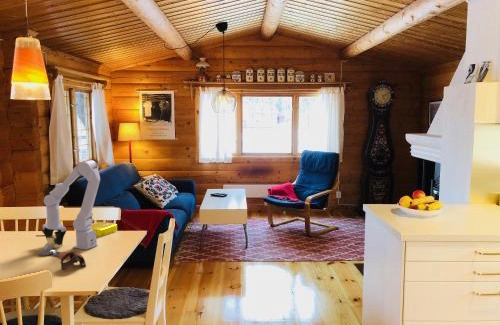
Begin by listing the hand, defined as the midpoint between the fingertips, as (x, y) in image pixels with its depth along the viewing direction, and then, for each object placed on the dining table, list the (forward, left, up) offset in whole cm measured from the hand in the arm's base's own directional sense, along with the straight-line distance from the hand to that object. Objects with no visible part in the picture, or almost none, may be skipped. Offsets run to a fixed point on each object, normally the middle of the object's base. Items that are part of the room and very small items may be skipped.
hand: (55, 243), depth 206 cm
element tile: (-2, -28, -2) cm, 28 cm away
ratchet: (-13, +9, -2) cm, 16 cm away
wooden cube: (0, 0, -1) cm, 1 cm away
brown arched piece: (-33, +17, -2) cm, 37 cm away
